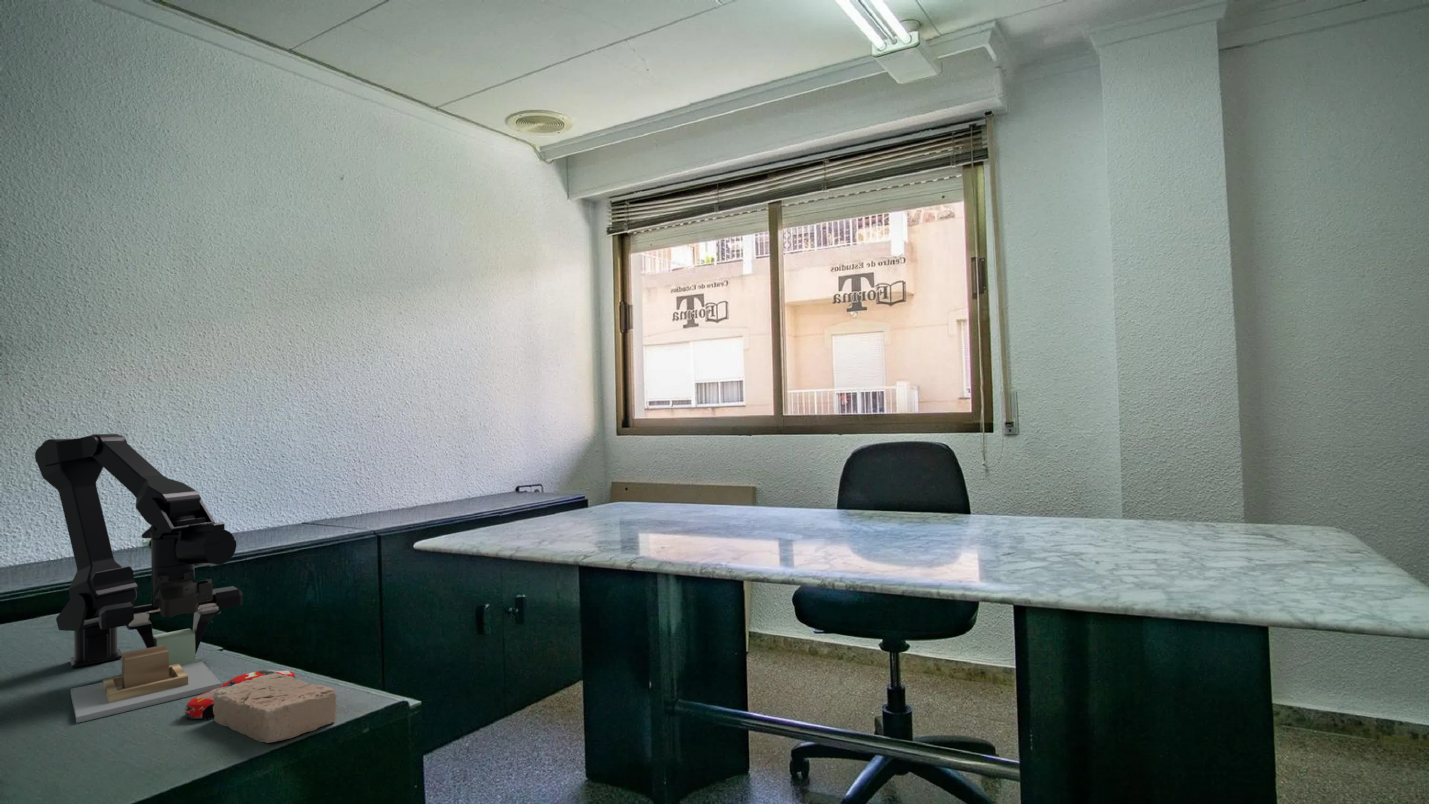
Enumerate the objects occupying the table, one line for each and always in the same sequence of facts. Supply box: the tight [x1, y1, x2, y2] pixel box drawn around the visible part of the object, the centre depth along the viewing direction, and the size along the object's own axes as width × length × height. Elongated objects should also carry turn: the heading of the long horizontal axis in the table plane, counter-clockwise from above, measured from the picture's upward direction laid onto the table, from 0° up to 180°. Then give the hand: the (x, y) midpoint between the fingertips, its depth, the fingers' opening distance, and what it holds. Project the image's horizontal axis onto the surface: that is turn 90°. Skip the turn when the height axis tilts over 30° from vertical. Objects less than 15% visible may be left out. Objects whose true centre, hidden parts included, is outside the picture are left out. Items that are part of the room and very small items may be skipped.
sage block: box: [153, 628, 197, 666], centre depth 118 cm, size 5×5×5 cm
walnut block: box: [121, 645, 169, 689], centre depth 105 cm, size 5×5×5 cm
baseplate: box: [70, 660, 222, 724], centre depth 105 cm, size 16×16×2 cm
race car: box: [184, 669, 297, 720], centre depth 98 cm, size 13×5×4 cm, turn 137°
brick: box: [213, 674, 338, 744], centre depth 92 cm, size 17×8×5 cm, turn 56°
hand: (174, 658), depth 118 cm, fingers closed on sage block, 5 cm apart
